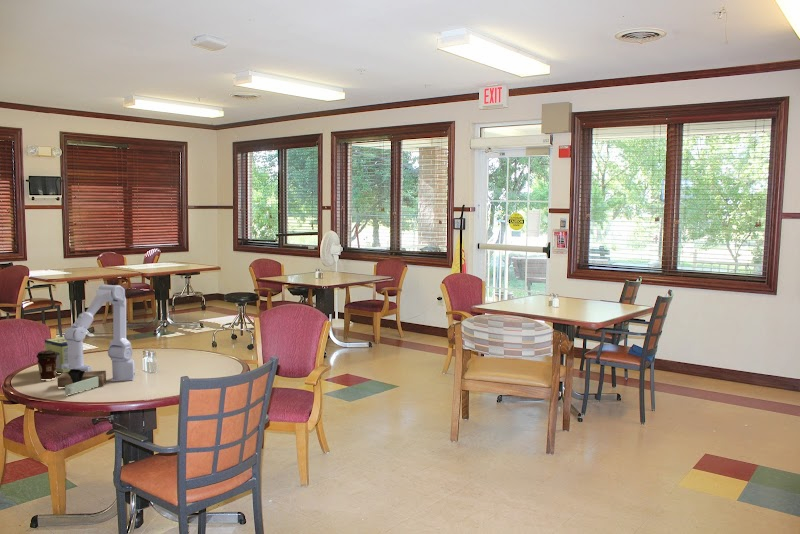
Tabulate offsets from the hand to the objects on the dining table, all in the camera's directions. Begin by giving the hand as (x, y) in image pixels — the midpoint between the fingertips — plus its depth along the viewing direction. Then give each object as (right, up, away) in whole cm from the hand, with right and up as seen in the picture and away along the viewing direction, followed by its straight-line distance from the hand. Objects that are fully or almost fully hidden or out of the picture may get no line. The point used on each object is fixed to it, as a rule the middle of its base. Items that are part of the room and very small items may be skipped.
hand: (77, 386), depth 286 cm
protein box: (-23, +1, +36) cm, 42 cm away
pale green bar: (+2, -2, +1) cm, 3 cm away
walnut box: (-3, -1, +11) cm, 12 cm away
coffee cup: (-23, -1, +20) cm, 31 cm away
